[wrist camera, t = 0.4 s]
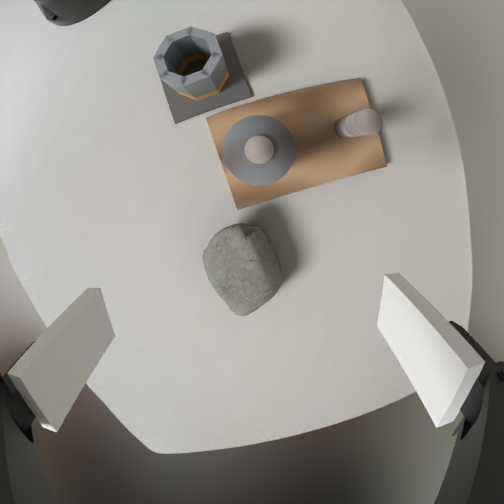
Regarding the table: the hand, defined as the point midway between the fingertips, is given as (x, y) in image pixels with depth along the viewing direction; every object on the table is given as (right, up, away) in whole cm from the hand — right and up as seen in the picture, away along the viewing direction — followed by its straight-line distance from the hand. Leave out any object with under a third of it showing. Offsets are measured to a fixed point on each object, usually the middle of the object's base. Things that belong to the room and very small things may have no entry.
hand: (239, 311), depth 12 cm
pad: (-6, +25, +18) cm, 31 cm away
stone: (-1, +2, +27) cm, 27 cm away
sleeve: (-6, +25, +18) cm, 31 cm away
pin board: (+6, +17, +21) cm, 28 cm away
